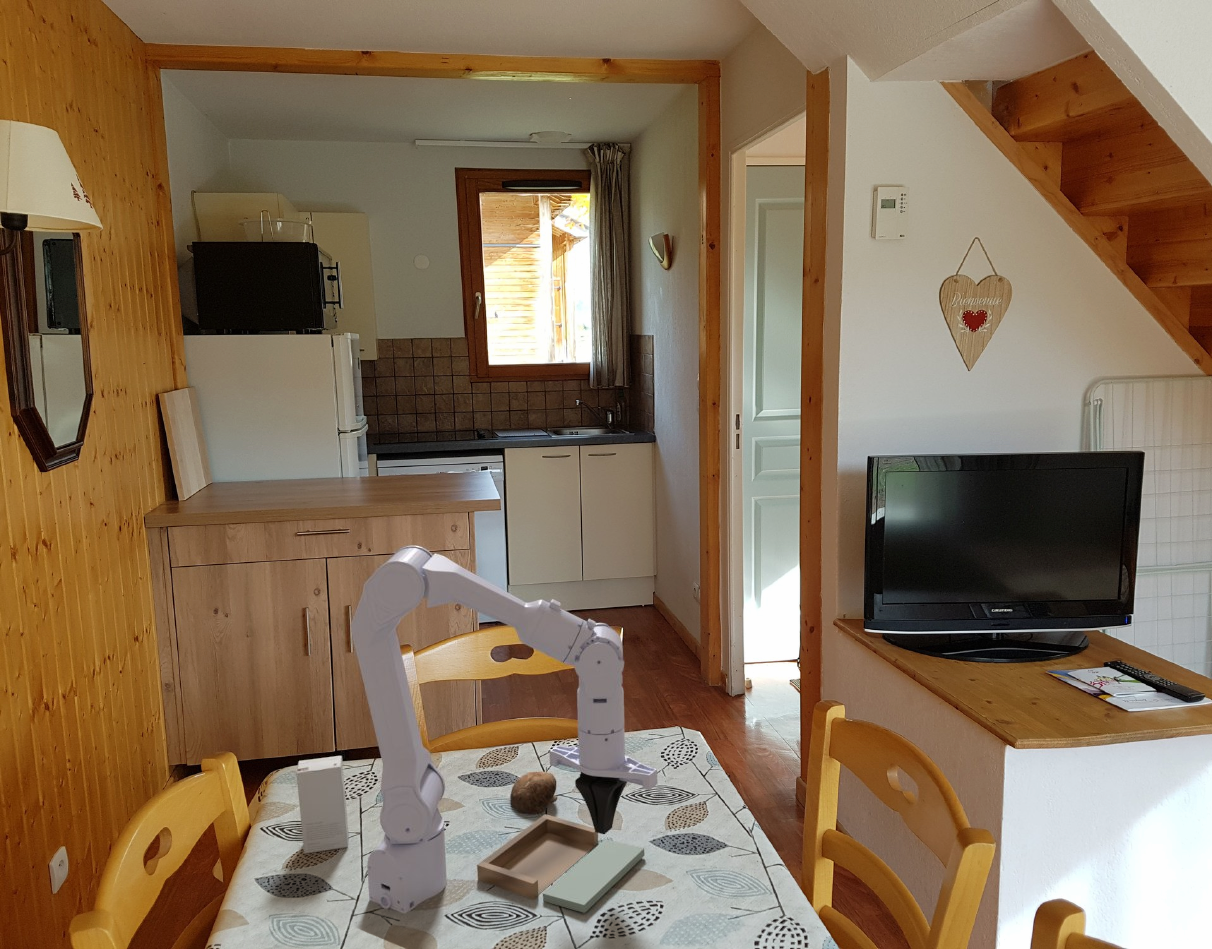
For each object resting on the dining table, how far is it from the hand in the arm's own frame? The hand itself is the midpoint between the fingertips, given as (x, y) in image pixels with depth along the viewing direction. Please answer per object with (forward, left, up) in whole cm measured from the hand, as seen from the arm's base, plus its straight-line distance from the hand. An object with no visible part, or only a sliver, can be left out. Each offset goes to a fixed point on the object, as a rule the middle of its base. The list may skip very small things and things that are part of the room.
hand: (603, 829), depth 118 cm
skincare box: (-9, +40, -9) cm, 42 cm away
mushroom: (+13, +20, -9) cm, 26 cm away
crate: (0, +10, -8) cm, 13 cm away
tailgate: (0, +4, -7) cm, 8 cm away
